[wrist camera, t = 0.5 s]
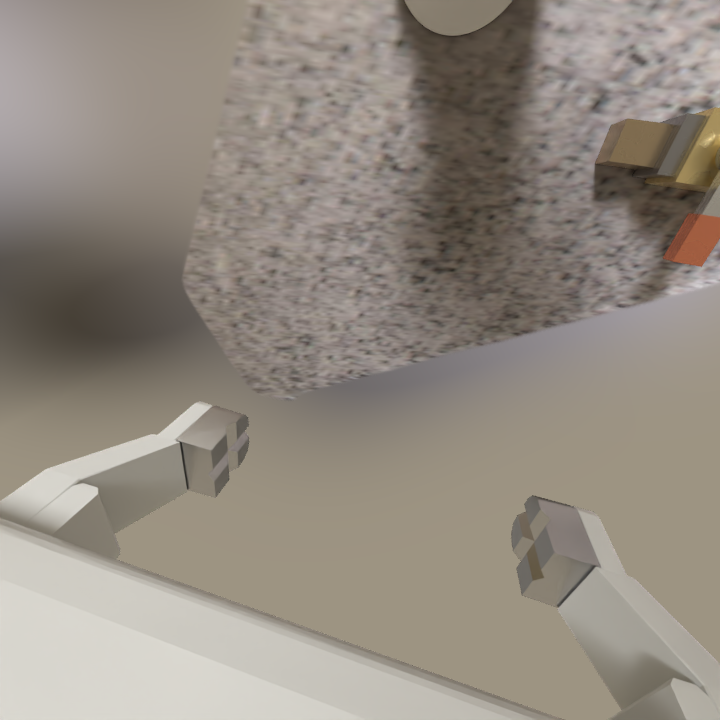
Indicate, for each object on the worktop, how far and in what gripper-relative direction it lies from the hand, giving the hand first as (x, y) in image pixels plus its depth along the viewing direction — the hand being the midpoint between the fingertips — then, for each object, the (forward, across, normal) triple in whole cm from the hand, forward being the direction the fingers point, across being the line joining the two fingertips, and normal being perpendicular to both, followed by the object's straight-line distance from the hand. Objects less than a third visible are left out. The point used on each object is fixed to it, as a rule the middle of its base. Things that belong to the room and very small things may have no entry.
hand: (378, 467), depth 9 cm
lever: (+37, -26, -10) cm, 46 cm away
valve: (+44, -26, -14) cm, 53 cm away
